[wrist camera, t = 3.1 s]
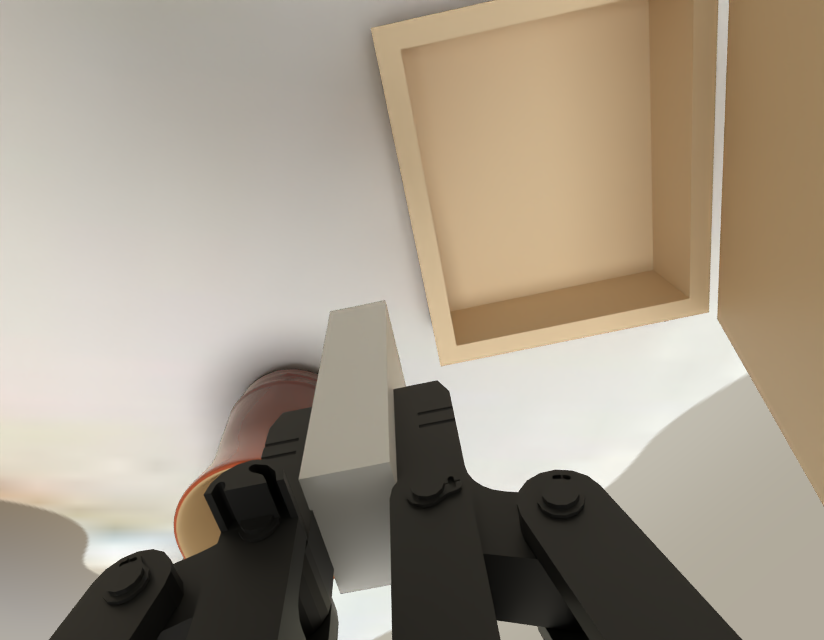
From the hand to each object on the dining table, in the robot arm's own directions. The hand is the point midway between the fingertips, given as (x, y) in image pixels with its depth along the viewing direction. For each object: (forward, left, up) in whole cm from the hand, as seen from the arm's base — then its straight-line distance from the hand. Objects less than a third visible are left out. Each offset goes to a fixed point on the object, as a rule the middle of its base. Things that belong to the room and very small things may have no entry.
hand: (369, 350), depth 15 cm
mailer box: (0, +9, -17) cm, 19 cm away
